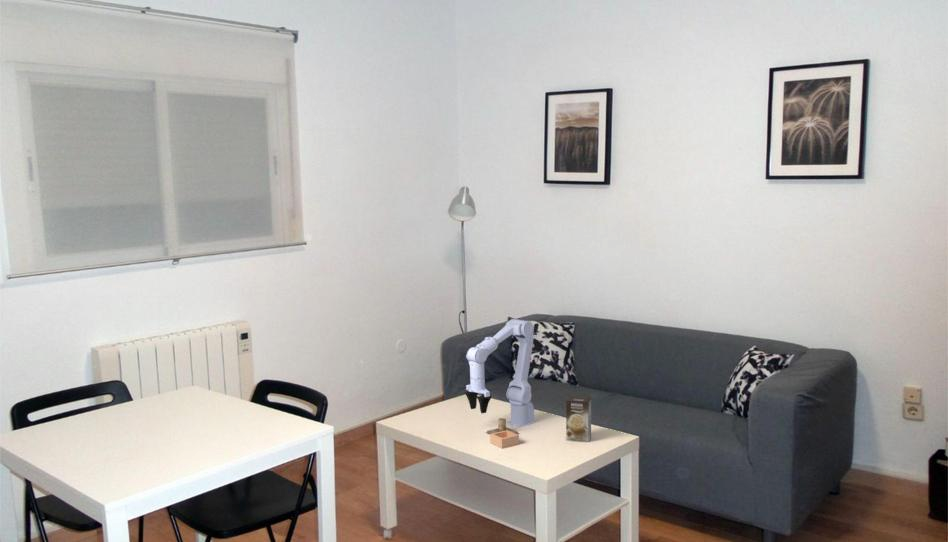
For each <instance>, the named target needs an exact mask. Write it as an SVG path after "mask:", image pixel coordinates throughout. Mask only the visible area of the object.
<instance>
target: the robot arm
mask: <svg viewBox="0 0 948 542" xmlns="http://www.w3.org/2000/svg"><path fill="white" fill-rule="evenodd" d="M534 330H535V326H534V324H533V323H532V322H531V321H529V320H525V319H524V320H523V319H517V318H510V320H509V321H507V322H506V323H505V325H504V326H503V327H502V328H501V329H500V330H498V332H497V333H496V334H495V335H493V336H486V337H484V340H482V341H481V342H480V343H478V344H476V345H475V346H473V347H470V348H469V349H468V350H467V352H466V355H465V357H466V359H467V361H468V365H469V376H470V377H469V380H470V383H469V384H466V385H465V387H466V388H465V390H466V391H465V392H464V394H465V397H467V398H466V399H467V401H468V404H469V408H470V409H471V410H476V409H477V402H478V403H479V411H480V413H481V414H486V413H487V410H488V407H489V403H490V400H491V399H492V395H491V394H490V391H489V390H488V389H487V388H486V383H485V382H486V381H485V362H486V361H487V358H488V356H490V355H491V354H492V353H493V352H494V351H495V350H497V349H498V346H499V344H500V343H501V342H503V341H504V340H506V339H507V338H509V337H511V336H514V337H515V338H516V339H517V340H518V342H519V347H518V351H517V357H516V358H517V359H516V365H515V371H514V372H515V373H514V378H513V380H511V381H510V382H509V385H508V388H507V390H506V395H505V396H506V398H507V400H508V401H509V403H510V421H506V424H509V425H511V426H514V427H516V428H520V427H525V426H528V425H533V424H536V421H535V407H534V405H533V403H532V402H531V400H532V386H531V385H530V383H529V382H528V378H529V373H530V372H529V371H530V365H531V359H532V358H531V357H532V354H533V353H532V352H533V346H534ZM478 394H479V395H478Z"/></svg>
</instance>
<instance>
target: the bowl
mask: <svg viewBox="0 0 948 542" xmlns="http://www.w3.org/2000/svg"><path fill="white" fill-rule="evenodd" d="M489 437H490V438H489V441H490V442H489V443H490V444H491V445H493V446H495V447H498V448H500V449H502V450H503V449H506V448H510V447H514V446H517V445H520V434H519V435H517V434H515V433H513V432H510V431H508V430H505V431H501V432H497V433H492V434H490V435H489Z"/></svg>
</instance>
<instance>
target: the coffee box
mask: <svg viewBox="0 0 948 542" xmlns="http://www.w3.org/2000/svg"><path fill="white" fill-rule="evenodd" d="M565 414H566V415H565V419H566V420H565V421H566V422H565V424H566V425H565V427H566V431H565V432H566V433H565V435H566V438H565V439H566V440H565V441H573V442H582V443H589V442H590V441H591V439H592V398H591V397H583V396H582V397H581V396H580V397H579V396H568V397H567V399H566V400H565Z"/></svg>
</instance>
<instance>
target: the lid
mask: <svg viewBox="0 0 948 542" xmlns="http://www.w3.org/2000/svg"><path fill="white" fill-rule="evenodd" d="M505 430H508V431H510V432H513V433H515V434H518V433H519V432H518V431H516V430H514V429H512V428H509V427H507V418H504V417H502V418H498V428H494V429H489V430H487V431H486V432H487V433H489V434H492V433H497V432H501V431H505ZM487 433H486V434H487ZM489 434H488V435H489Z"/></svg>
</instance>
